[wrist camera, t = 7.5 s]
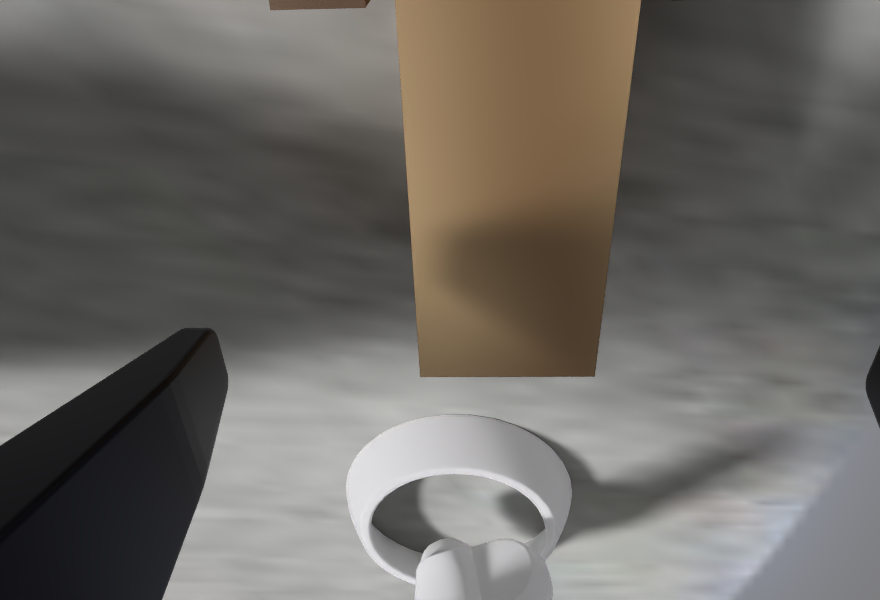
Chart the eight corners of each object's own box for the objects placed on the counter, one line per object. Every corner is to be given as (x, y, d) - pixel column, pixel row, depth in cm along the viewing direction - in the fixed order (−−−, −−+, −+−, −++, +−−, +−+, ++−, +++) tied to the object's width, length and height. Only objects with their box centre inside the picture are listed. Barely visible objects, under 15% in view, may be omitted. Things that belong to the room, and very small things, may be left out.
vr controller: (481, 385, 13) (666, 717, 13) (511, 358, 25) (606, 527, 24) (172, 556, 14) (326, 877, 13) (341, 452, 26) (428, 619, 25)
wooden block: (431, 253, 18) (420, 376, 14) (408, -227, 12) (377, -263, 8) (565, 251, 18) (594, 376, 13) (604, -236, 12) (675, -277, 8)
